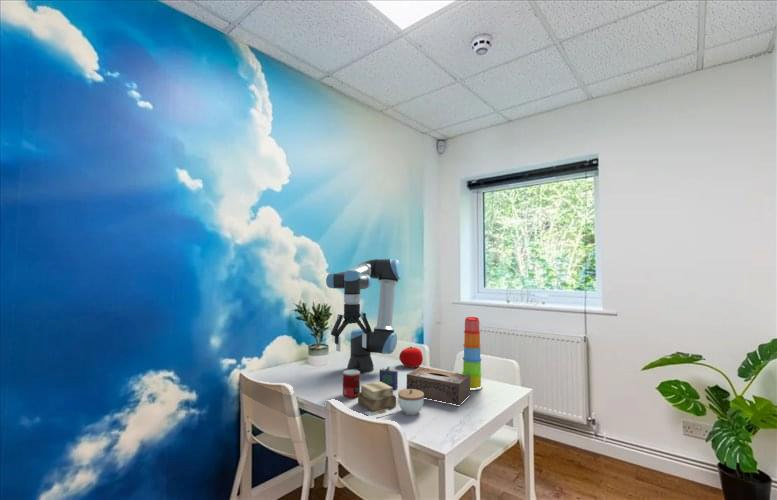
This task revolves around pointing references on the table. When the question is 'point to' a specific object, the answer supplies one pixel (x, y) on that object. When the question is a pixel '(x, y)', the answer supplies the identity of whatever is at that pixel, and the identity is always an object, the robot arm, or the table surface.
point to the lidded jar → (411, 400)
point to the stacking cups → (472, 352)
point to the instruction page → (379, 413)
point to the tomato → (411, 357)
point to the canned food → (351, 383)
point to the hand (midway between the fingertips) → (351, 349)
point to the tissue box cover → (440, 384)
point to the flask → (389, 377)
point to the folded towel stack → (376, 396)
